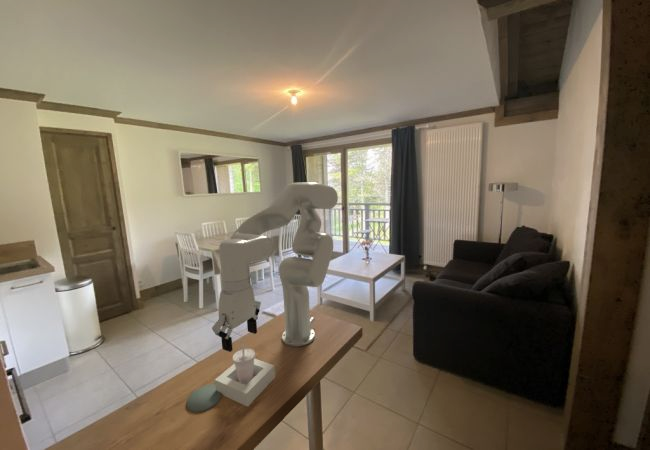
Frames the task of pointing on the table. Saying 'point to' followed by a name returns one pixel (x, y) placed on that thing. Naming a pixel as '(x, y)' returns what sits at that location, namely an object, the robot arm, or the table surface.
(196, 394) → the coaster
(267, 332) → the table surface
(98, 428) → the table surface
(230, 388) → the holder
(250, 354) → the lidded cup with straw
